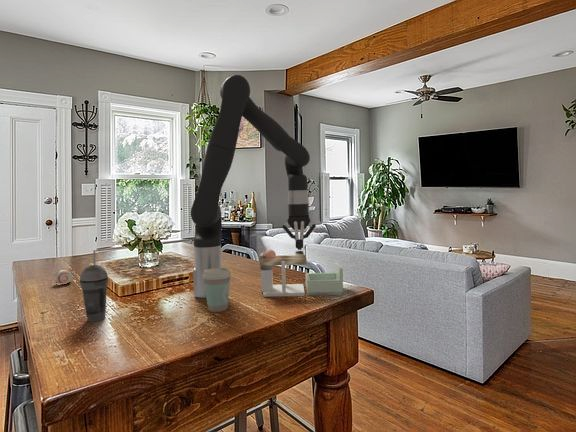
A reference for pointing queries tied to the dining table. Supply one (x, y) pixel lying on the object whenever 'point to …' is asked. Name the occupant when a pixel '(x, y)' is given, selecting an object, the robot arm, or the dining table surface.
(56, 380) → the dining table surface
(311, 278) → the cup
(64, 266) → the dining table surface
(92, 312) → the beverage cup
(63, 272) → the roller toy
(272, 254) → the ball
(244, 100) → the robot arm
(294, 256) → the lever trough
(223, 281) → the coffee cup
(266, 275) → the stand
